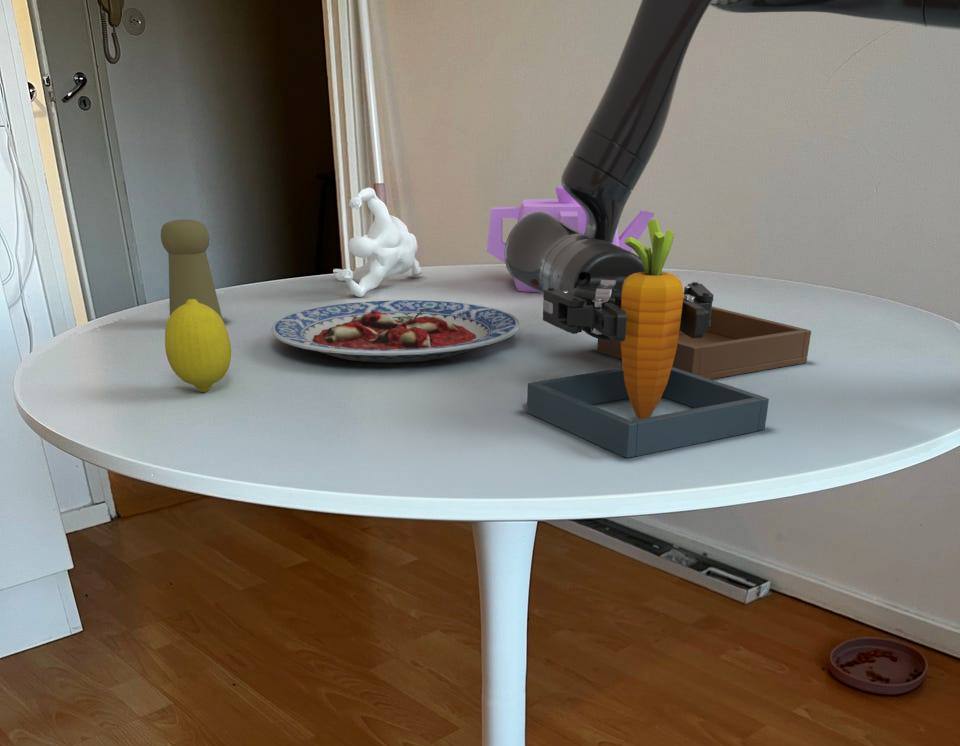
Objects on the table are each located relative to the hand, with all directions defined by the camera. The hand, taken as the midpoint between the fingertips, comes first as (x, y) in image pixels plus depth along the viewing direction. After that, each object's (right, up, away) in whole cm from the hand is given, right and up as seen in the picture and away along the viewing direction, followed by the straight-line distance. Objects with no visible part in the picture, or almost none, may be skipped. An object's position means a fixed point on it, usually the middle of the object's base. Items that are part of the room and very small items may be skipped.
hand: (661, 325), depth 75 cm
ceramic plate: (-22, +7, +30) cm, 39 cm away
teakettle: (-2, +25, +62) cm, 67 cm away
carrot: (0, -6, +6) cm, 9 cm away
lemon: (-38, -2, +14) cm, 41 cm away
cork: (-46, +13, +41) cm, 63 cm away
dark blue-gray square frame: (0, -6, +6) cm, 8 cm away
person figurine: (-26, +23, +60) cm, 69 cm away
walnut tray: (+8, +5, +25) cm, 27 cm away
